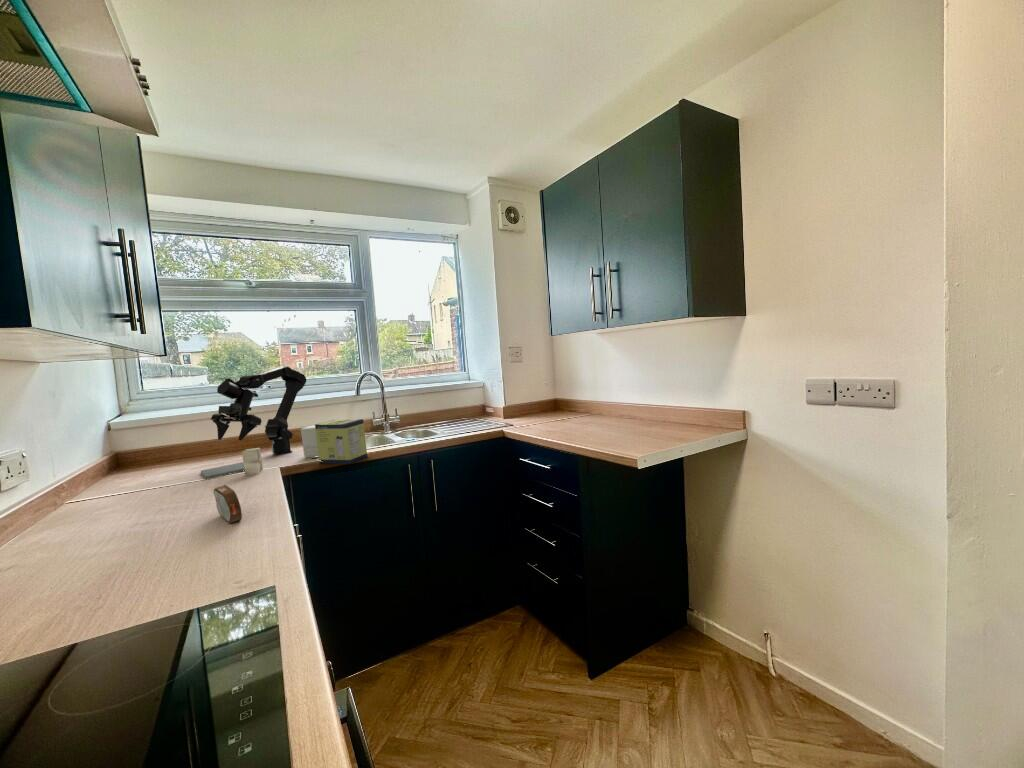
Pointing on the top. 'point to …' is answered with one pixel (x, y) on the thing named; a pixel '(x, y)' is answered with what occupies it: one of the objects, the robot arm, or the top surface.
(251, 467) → the cream rectangular block
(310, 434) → the supplement box
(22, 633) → the top surface
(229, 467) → the rubber mat
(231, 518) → the tin
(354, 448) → the protein box
